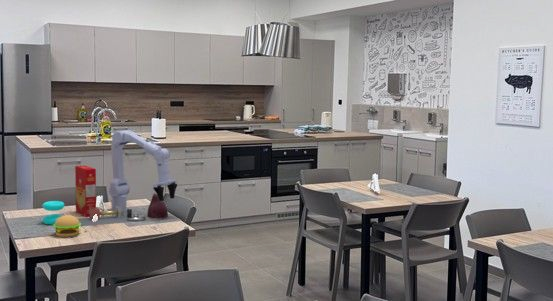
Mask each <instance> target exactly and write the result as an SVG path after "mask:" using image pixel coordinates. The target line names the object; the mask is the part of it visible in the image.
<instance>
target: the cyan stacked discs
mask: <svg viewBox="0 0 553 301" xmlns="http://www.w3.org/2000/svg"><path fill="white" fill-rule="evenodd" d="M41 207H42V208H43V209H44V210H45V211H50V212H56V211H60V210H63V209H64V207H65V203H64V202H63V201H59V200H49V201H46V202H44V203H43V204H42V205H41ZM62 216H63V215H62V214H56V213H55V214H47V215H45V216H44V217H43V218H42V222H43V224H45V225H50V224H52V226H53V224H55V222H56V220H57V219H58V218H59V217H62Z"/></svg>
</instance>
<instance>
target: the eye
mask: <svg viewBox="0 0 553 301" xmlns="http://www.w3.org/2000/svg"><path fill="white" fill-rule="evenodd" d="M117 210H118V214H114V216H115V217H116V218H117V219H119V218H123V216H122V207H121V206H119V205H117V206H116V211H117Z"/></svg>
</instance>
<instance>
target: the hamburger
mask: <svg viewBox="0 0 553 301" xmlns="http://www.w3.org/2000/svg"><path fill="white" fill-rule="evenodd" d="M80 225H81V223H79V220H78V217H76V216H74V215H71V214H65V215H62V217H59V218H58V219H57V220H56V222H55V224H53V225H52V227H54V229H55V233H54V234H55V236H57V237H61V238H71V237H76V236H78V234H79V233H80V227H81V226H80Z"/></svg>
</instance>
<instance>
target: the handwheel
mask: <svg viewBox="0 0 553 301" xmlns="http://www.w3.org/2000/svg"><path fill="white" fill-rule="evenodd" d="M126 213H127V214H126V215H127V220H128V221H137V222H143V221H142V220H145V219H146V215H143V214H139V215H132V214H133V210H132V208H127V212H126Z"/></svg>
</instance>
